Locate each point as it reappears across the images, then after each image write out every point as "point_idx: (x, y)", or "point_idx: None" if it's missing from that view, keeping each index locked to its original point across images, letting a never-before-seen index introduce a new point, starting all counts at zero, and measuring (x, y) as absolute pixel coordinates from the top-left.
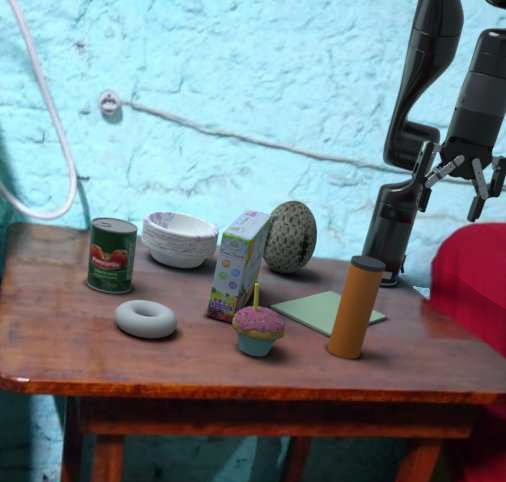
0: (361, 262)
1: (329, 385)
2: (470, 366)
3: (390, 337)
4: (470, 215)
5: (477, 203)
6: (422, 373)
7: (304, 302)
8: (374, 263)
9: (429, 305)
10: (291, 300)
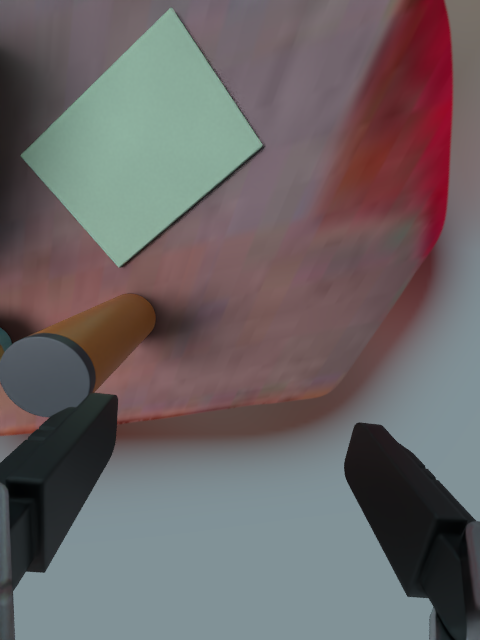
0: (21, 395)
1: None
2: (334, 324)
3: (235, 240)
4: (359, 466)
5: (392, 565)
6: (238, 362)
7: (92, 116)
8: (58, 389)
9: (416, 17)
10: (65, 112)
